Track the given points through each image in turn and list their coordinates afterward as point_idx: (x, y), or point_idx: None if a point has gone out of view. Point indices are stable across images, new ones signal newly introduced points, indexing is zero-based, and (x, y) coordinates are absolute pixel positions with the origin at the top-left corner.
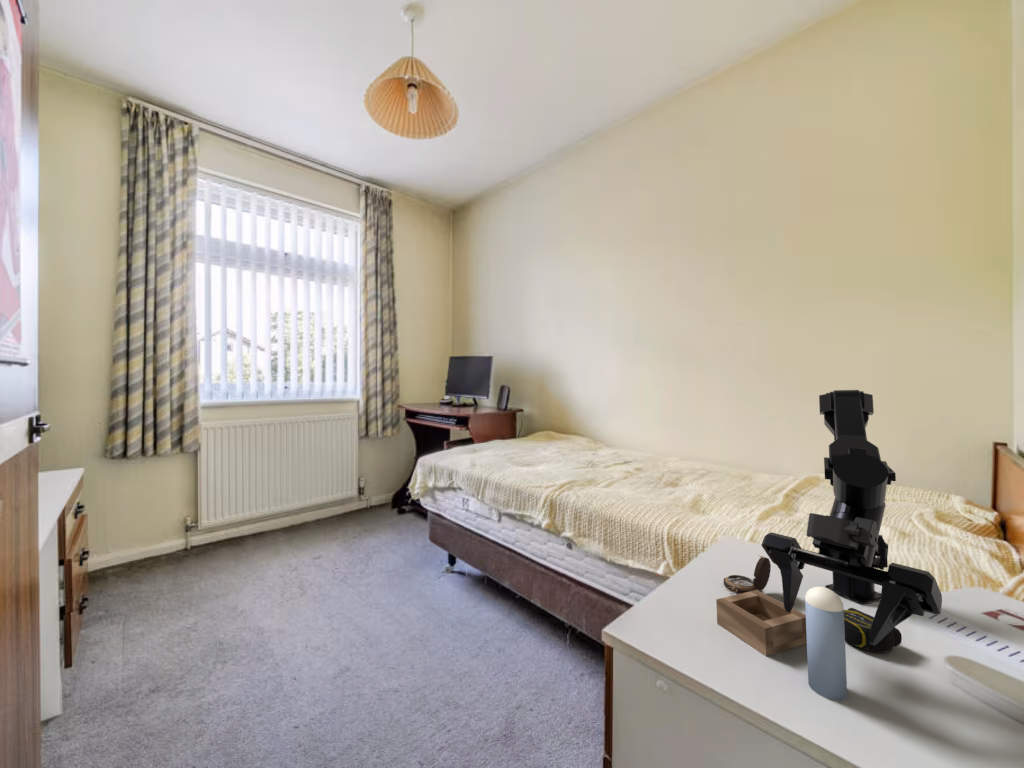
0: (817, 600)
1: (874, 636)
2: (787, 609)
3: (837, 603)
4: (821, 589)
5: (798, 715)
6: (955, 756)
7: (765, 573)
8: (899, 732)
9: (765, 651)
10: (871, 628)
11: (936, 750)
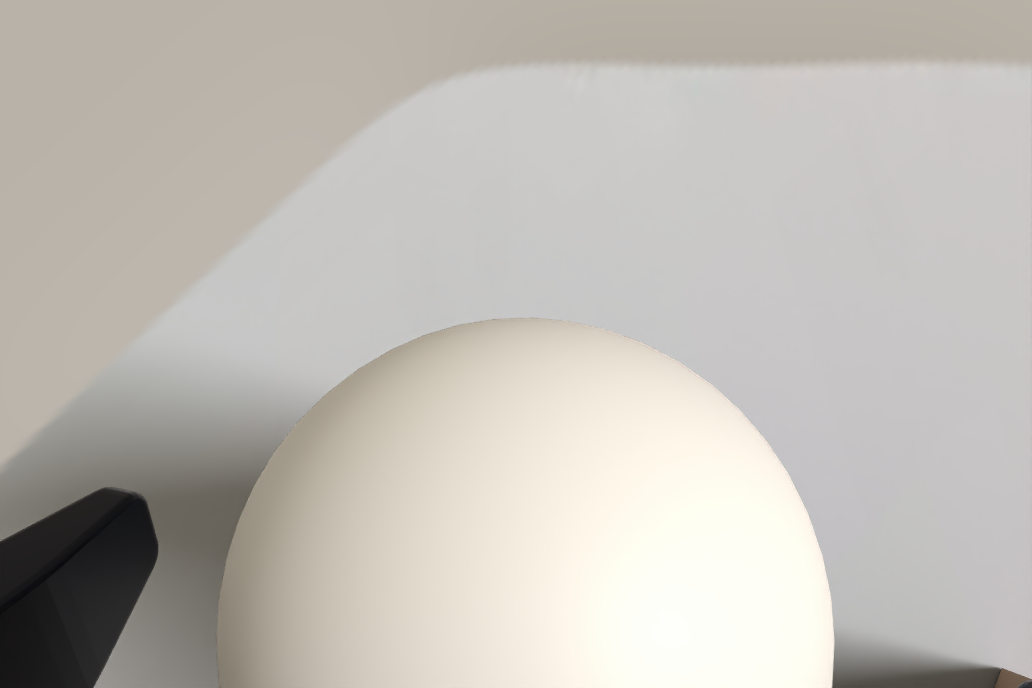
0: (572, 332)
1: (58, 513)
2: (1023, 684)
3: (268, 466)
4: (505, 539)
5: (665, 183)
6: (73, 419)
7: None
8: (260, 419)
9: (1022, 677)
10: (36, 573)
11: (134, 402)
